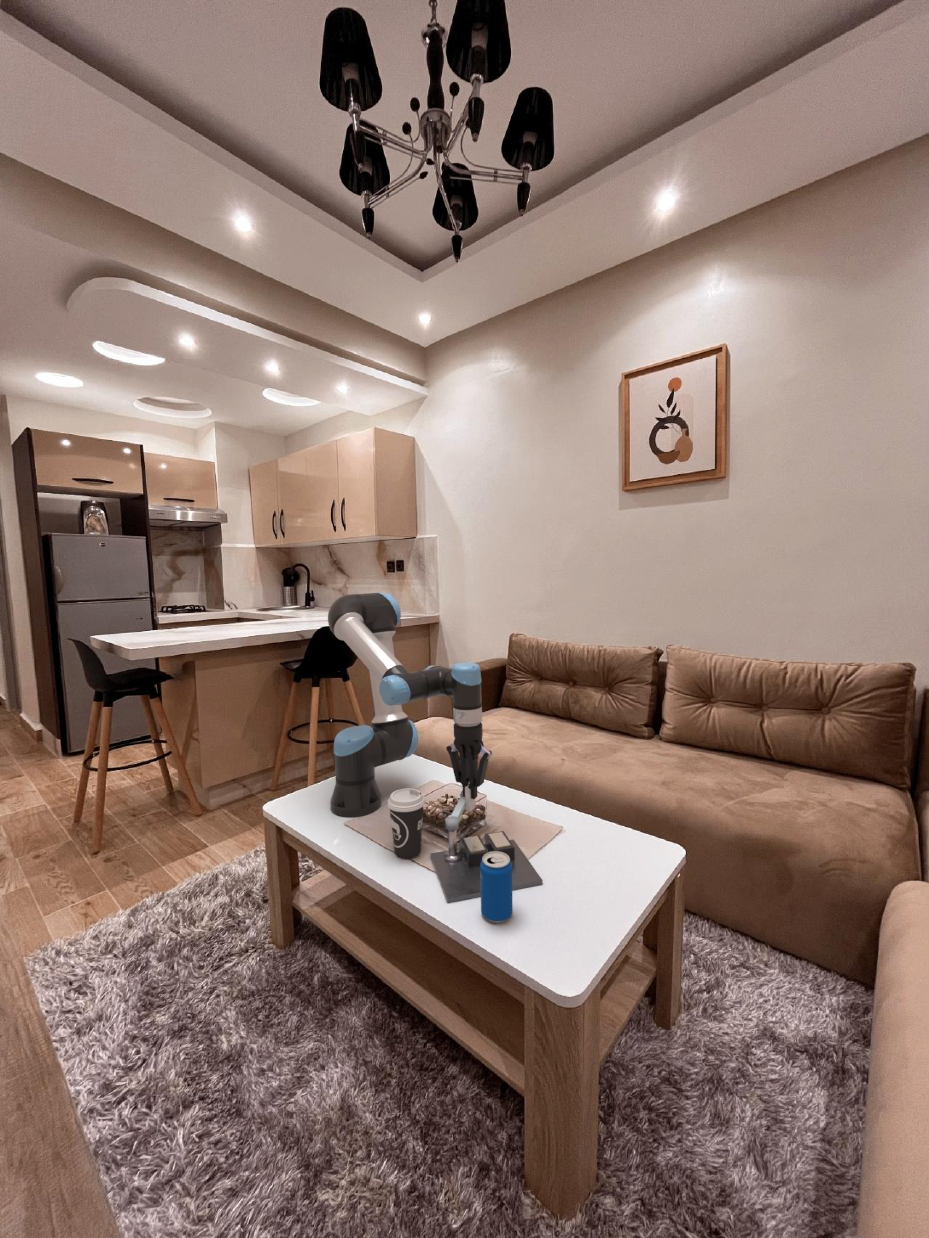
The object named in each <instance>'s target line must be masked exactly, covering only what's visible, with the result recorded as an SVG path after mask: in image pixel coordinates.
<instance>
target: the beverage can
mask: <svg viewBox="0 0 929 1238" xmlns="http://www.w3.org/2000/svg"><path fill="white" fill-rule="evenodd" d="M480 877H481V897H480V913H481V915H482V916H483V917H484V918H485V919H486V920H487V921H489V922H491V923H497V924H500V923H503V922H506V921H507V920H509V919H510V918H511V917H512V915H513V912H514V911H513V909H514V908H513V890H512V863H511V861H510V858H509V856H508V855H507V854H505V853H503V852H499V851H493V852H489V853H486V854H485V855H484V856H483V858H482V861H481V864H480Z"/></svg>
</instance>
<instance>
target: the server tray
mask: <svg viewBox="0 0 929 1238" xmlns="http://www.w3.org/2000/svg"><path fill="white" fill-rule="evenodd" d="M447 835H448V837H447V838H448V839H447V840H448V843H447V844H448V850H442V851H436V852H430V854H429V855H430V859H431V863H432V865H433V869H434V870H435V873H436V875H437V879H438V881H439V883H440V884H439V885H440V887H441V889H442V893H443V895H444V898H445V900H446V904H449V903H455V902H460V901H461V902H462V901H464V900H465V901H466V900H470V899H475V898H481V877H480V864H481V861H482V858H483V856H484V855H485V854H486V853H489V852H493V851H499V852H503V853H505V854H507V855H508V856H509V858H510V861H511V863H512V891H516V890H521V889H525V888H531V887H536V886H542V885H543V879H542V877H541V876H540V874H539V873H538V872H537V870H536V869H535V868H534V867H535V866H533V865H532V863H531V862H530V861H529V858H527V856H526V855H525V853H524V852H523V851H522V849H521V848H520V846H519V844H518V843H517V842H516V840H515V839H509V837H508V836H507V834H506V833H505V831H503V830H501V831H495V832H490V833H484V841H483V839H482V838H481V836H480V835H479V834H477V835H470V836H466V837H459V848H458V843H457V839H458V838H457V836H458V835H457V830H454V831H450V830H447Z"/></svg>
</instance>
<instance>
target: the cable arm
mask: <svg viewBox="0 0 929 1238" xmlns="http://www.w3.org/2000/svg"><path fill="white" fill-rule="evenodd" d="M459 796H460V797H459V799H458V801H457V804H456V805H455V807H454V809H453V811H452V813H451V815H450V816H448V817H446V818H445V829H446V830H447V831H448V830H450V831H454V830H456V831H457V830H458V829H459V828H460V823H459V822H460V820H461V818H462V815H463V813H464V811H465V810H466V803H465V797H463V789H462V790H461V792H460V793H459Z"/></svg>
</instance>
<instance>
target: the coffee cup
mask: <svg viewBox="0 0 929 1238" xmlns="http://www.w3.org/2000/svg"><path fill="white" fill-rule="evenodd" d="M425 799H426V798H425V796H424V795H423V793H422V791H421V790H419V789H416V788H411V787H410V788H409V787H407V788H399V789H397V790H394V791H393V792H391V793H390V796H389V798H388V799H387V803H386V804H387V808H388V809H389V815H390V816H389V817H390V822H391V823H390V826H391V830H392V831H391V832H392V839H393V841H392V842H393V847H394V850H393V851H394V855H395V857H396V858H398V859H401V860H411V859H414V858H417V857H418V856H419V855H420V854H421V851H422V837H423V819H424V818H423V817H424V807H425V805H426V800H425Z"/></svg>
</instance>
